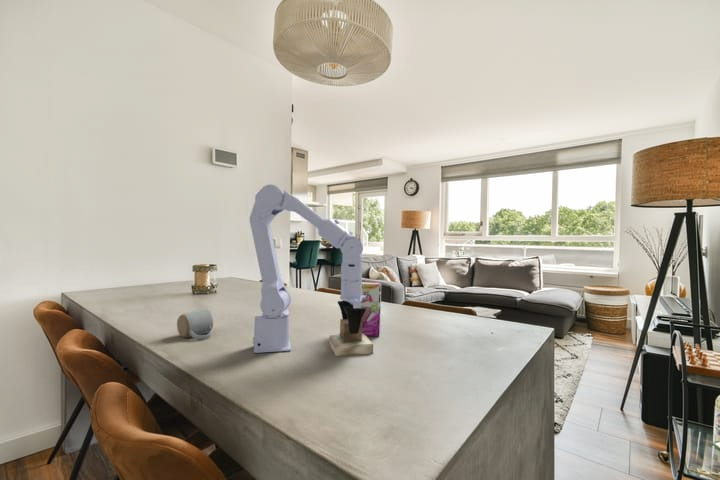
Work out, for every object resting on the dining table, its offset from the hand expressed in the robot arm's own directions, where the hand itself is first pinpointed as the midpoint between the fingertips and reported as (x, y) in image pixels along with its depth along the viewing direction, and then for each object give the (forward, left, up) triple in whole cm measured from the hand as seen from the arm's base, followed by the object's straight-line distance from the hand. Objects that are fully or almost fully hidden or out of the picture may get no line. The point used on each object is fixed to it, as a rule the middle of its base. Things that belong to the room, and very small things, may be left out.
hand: (350, 329), depth 93 cm
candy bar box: (+7, +13, -5) cm, 16 cm away
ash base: (0, 0, -5) cm, 5 cm away
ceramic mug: (-43, +22, -6) cm, 48 cm away
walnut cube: (0, 0, -3) cm, 3 cm away
